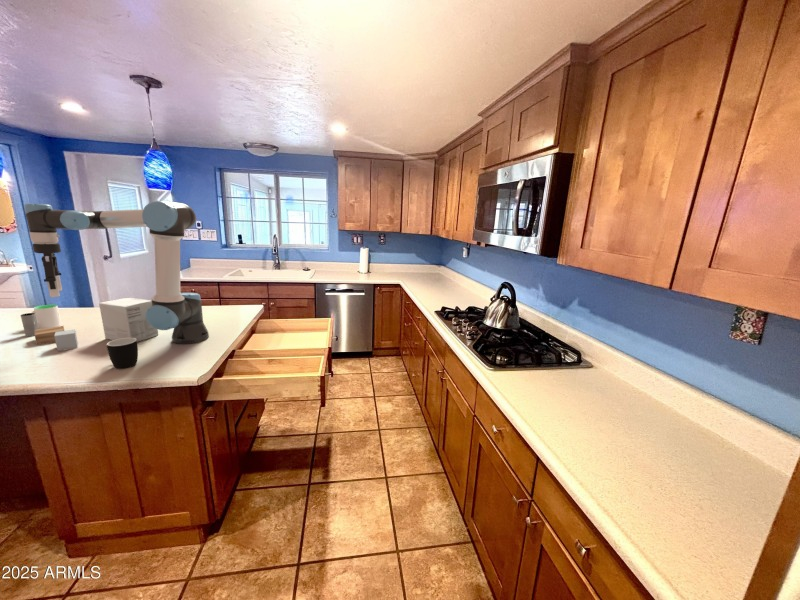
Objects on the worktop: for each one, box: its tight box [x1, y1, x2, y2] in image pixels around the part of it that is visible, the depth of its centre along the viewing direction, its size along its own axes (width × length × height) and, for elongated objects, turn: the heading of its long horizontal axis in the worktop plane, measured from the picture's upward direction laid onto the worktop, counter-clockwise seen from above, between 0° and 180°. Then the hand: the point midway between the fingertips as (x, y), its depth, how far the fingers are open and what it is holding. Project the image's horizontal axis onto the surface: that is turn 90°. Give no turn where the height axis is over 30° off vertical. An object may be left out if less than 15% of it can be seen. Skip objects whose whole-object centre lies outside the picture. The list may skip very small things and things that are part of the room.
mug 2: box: [28, 304, 62, 329], centre depth 160 cm, size 12×8×10 cm, turn 160°
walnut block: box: [34, 325, 65, 346], centre depth 146 cm, size 9×9×5 cm
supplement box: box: [98, 297, 159, 343], centre depth 152 cm, size 17×13×18 cm
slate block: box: [54, 329, 79, 352], centre depth 138 cm, size 6×6×7 cm
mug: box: [106, 338, 139, 370], centre depth 125 cm, size 12×9×10 cm
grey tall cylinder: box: [20, 312, 40, 337], centre depth 150 cm, size 4×4×10 cm
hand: (56, 293), depth 134 cm, fingers open, 13 cm apart
